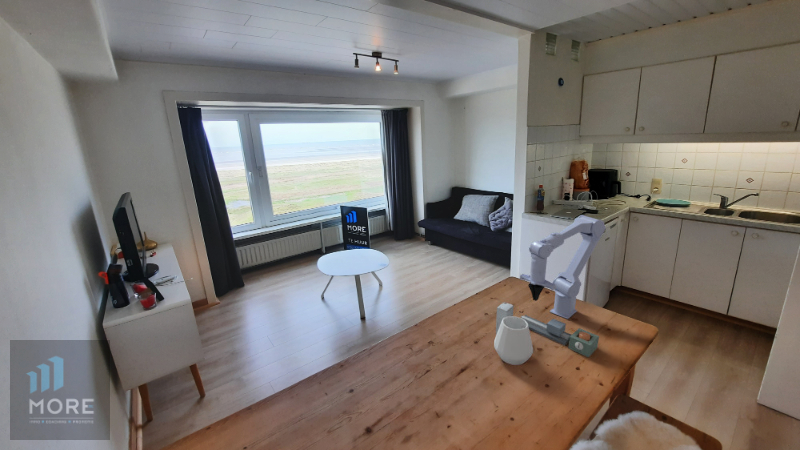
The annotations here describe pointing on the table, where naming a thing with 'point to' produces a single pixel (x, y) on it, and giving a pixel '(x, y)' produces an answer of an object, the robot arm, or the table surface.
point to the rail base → (541, 329)
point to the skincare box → (503, 313)
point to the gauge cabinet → (583, 343)
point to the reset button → (584, 336)
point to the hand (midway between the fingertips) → (535, 299)
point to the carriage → (556, 327)
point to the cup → (513, 341)
